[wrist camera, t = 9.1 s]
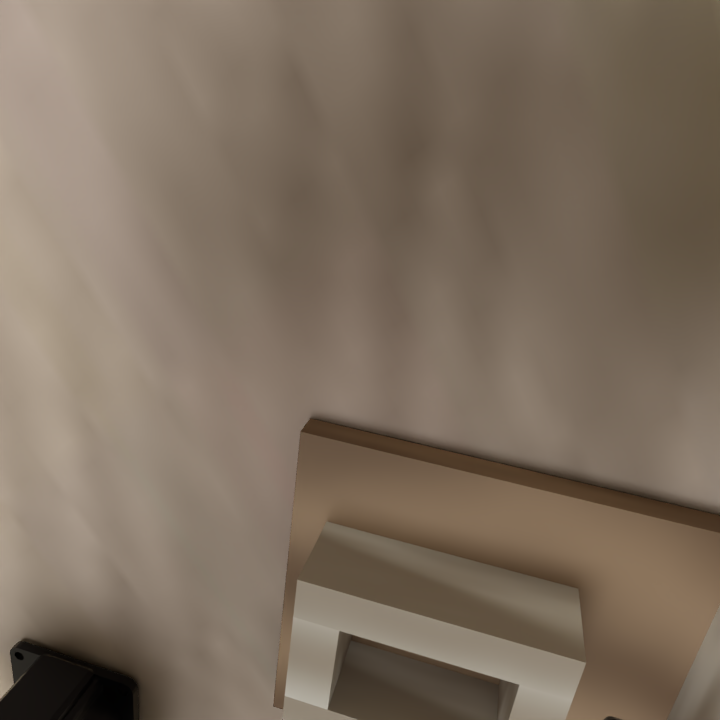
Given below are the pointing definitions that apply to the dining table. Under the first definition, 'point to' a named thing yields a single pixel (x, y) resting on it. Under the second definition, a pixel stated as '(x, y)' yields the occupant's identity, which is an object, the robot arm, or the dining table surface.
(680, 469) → the dining table surface
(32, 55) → the dining table surface
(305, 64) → the dining table surface
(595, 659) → the board
